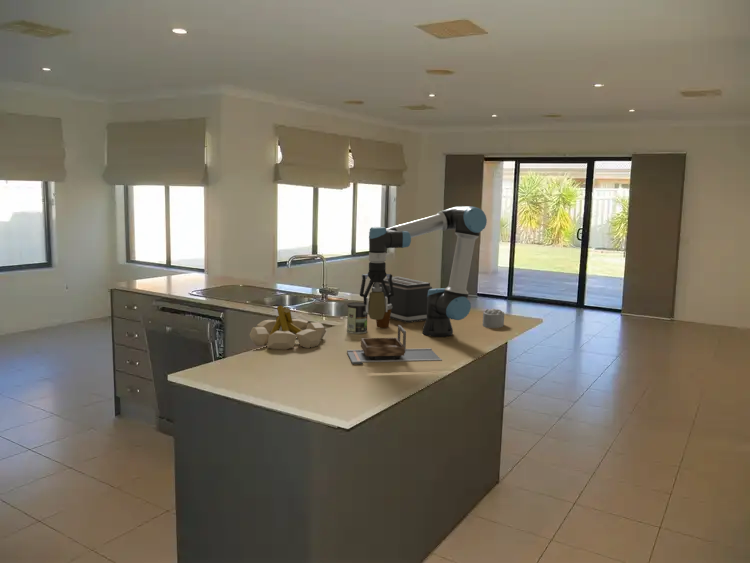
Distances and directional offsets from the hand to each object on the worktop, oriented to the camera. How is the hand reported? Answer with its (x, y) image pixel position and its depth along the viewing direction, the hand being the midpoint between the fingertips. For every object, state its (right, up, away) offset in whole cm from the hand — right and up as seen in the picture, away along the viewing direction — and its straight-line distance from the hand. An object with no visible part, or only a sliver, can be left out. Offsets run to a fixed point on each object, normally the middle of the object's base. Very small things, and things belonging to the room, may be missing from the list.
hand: (376, 311), depth 283 cm
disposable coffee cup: (+3, -10, +44) cm, 46 cm away
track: (+7, -19, -14) cm, 25 cm away
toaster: (+14, -6, +73) cm, 75 cm away
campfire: (-41, -15, +10) cm, 45 cm away
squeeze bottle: (0, -3, +1) cm, 3 cm away
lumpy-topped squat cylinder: (+63, -10, +53) cm, 83 cm away
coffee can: (-10, -12, +32) cm, 36 cm away
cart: (+2, -18, -15) cm, 24 cm away
